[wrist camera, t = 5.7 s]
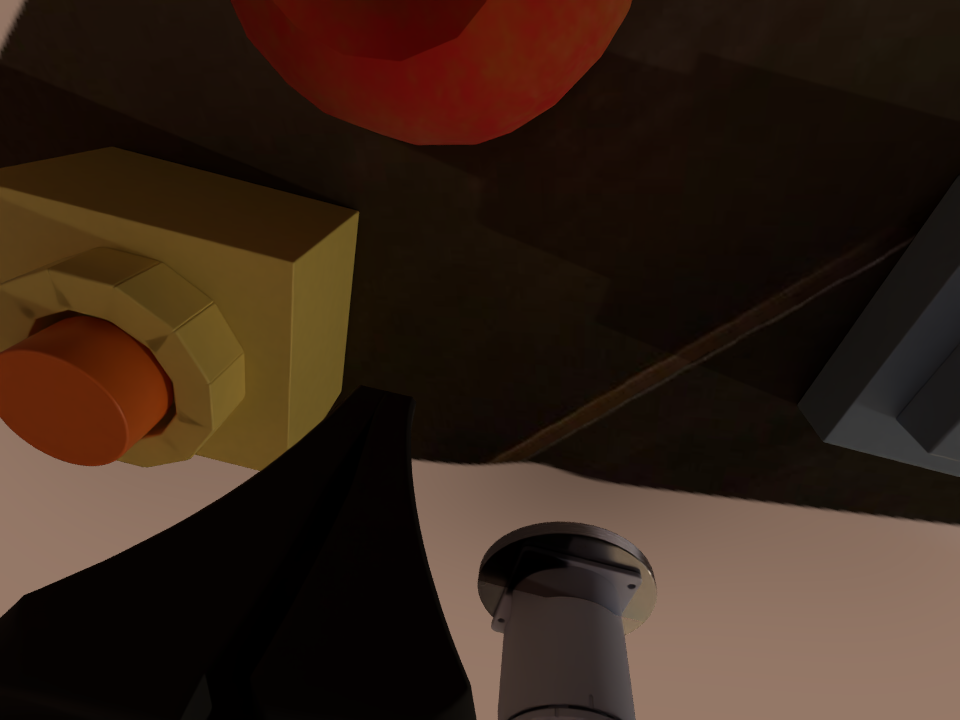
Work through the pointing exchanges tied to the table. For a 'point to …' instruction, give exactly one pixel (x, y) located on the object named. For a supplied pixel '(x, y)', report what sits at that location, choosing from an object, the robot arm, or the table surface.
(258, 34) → the apple
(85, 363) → the trigger button
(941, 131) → the table surface
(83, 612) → the robot arm
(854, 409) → the blue-grey square base
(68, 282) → the button housing
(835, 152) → the table surface
